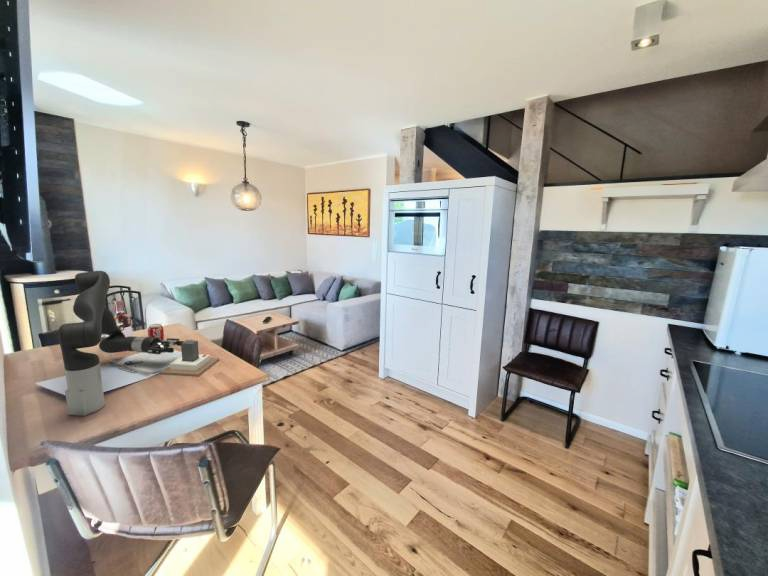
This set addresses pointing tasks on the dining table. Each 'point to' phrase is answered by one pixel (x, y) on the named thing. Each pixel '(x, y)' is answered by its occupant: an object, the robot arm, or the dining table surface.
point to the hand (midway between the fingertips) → (179, 346)
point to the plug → (189, 350)
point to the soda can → (156, 331)
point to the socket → (190, 366)
